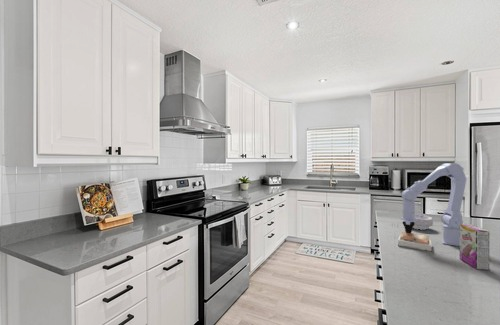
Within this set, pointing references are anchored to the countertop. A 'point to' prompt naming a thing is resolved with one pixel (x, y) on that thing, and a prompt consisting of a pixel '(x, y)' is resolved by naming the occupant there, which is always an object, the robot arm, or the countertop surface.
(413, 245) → the bin
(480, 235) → the candy bar box
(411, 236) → the terracotta tile
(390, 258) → the countertop surface
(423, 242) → the terracotta tile
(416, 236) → the oak board
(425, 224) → the white purple patterned bowl
